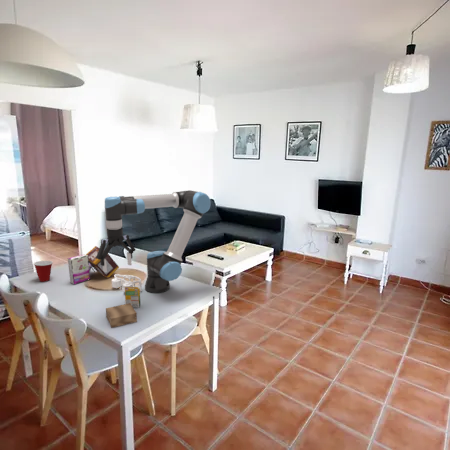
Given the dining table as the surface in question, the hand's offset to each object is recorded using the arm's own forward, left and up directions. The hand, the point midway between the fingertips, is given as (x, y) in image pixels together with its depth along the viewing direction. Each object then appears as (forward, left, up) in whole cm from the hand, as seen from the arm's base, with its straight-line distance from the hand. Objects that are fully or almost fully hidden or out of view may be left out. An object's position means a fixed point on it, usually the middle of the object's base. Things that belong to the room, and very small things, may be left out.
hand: (117, 268), depth 163 cm
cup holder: (-10, -24, -23) cm, 34 cm away
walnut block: (+2, +12, -23) cm, 26 cm away
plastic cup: (+31, -63, -23) cm, 74 cm away
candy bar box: (+12, -50, -23) cm, 56 cm away
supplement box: (-6, -54, -19) cm, 58 cm away
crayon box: (-7, +1, -23) cm, 24 cm away
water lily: (+1, -62, -22) cm, 66 cm away
